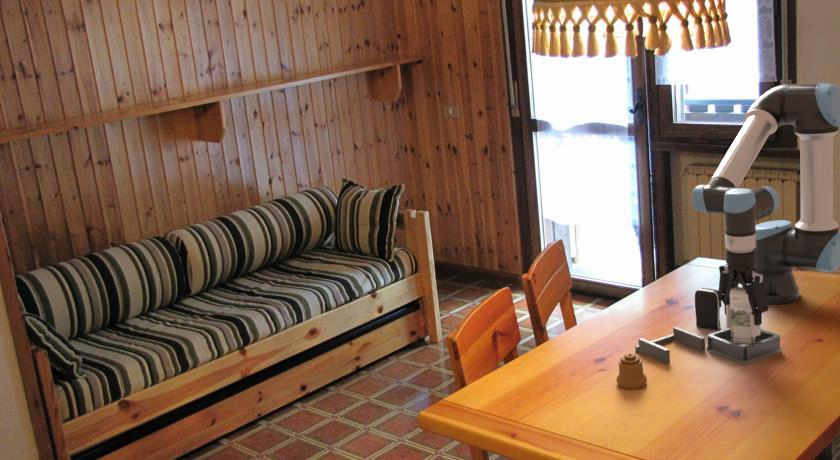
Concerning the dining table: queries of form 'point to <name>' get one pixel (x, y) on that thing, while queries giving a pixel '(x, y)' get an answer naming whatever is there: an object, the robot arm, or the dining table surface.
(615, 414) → the dining table surface
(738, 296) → the syrup box
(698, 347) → the grey u-shaped bracket
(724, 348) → the square tray
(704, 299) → the black rounded block
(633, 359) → the ornamental finial
